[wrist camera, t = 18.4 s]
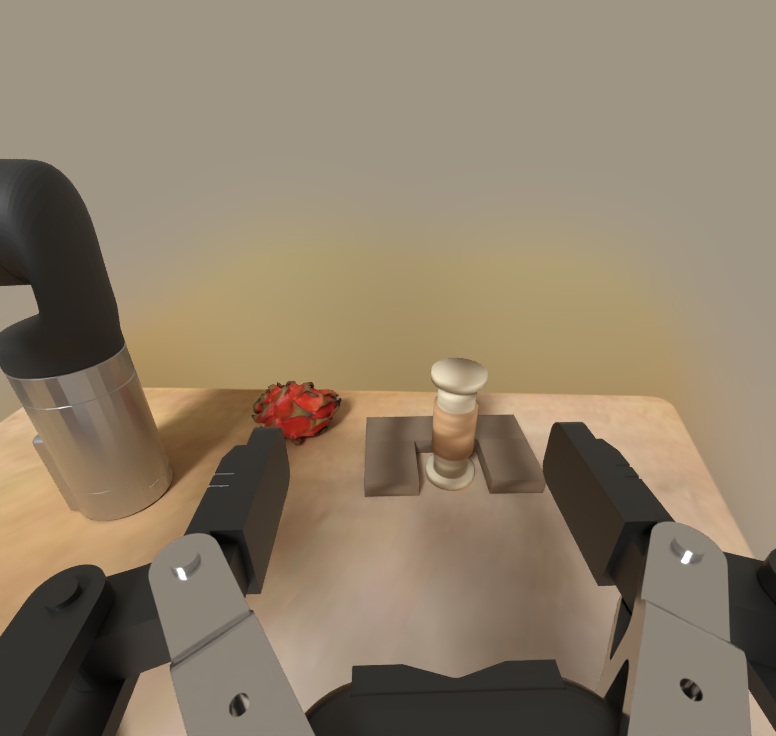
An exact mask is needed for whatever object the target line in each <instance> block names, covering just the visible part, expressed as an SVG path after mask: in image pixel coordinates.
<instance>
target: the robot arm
mask: <svg viewBox="0 0 776 736" xmlns="http://www.w3.org/2000/svg"><path fill="white" fill-rule="evenodd" d="M11 285H31V286H32V289H33V291H34V295H35V298H36V301H37V304H38V309H39V314H37V315H34V316H32V317H29V318H27V319H24V320H22V321H20V322H17V323H15V324H13V325H11V326H9V327H7V328H6V329H4V330H3V331H2V332H0V367H1V369H2V371H3V372H4V374H5V375H6V377H7V379H8V381H9V382H10V384H11V386H12V388H13V390H14V391H15V393H16V395H17V397H18V399H19V400H20V402H21V404H22V406H23V407H24V409H25V411H26V413H27V415H28V416H29V418H30V420H31V422H32V423H33V425H34V427H35V429H36V431H37V432H38V435H37V436H36V437H35V438H34V439H33V445H34V447H35V449H36V450H37V452H38V454H39V456H40V457H41V459H42V461H43V463H44V464H45V466H46V468H47V470H48V471H49V473H50V475H51V476H52V478H53V480H54V482H55V483H56V485H57V487H58V489H59V490H60V492H61V494H62V496H63V497H64V499H65V501H66V503H67V504H68V506H69V508H70V510H80V511H81V512H82V513H83V514H84V515H85V516H86V517H88V518H90V519H93V520H98V521H107V520H114V519H120V518H123V517H126V516H129V515H132V514H134V513H136V512H139V511H141V510H142V509H144V508H146V507H148V506H149V505H151V504H152V503H153V502H155V501H156V500H158V499H159V498H160V497H161V496H162V495H163V494H164V493H165V491H166V490H167V489H168V487H169V486H170V484H171V482H172V478H173V471H172V468H171V465H170V462H169V460H168V457H167V454H166V452H165V449H164V446H163V443H162V440H161V438H160V435H159V432H158V429H157V427H156V424H155V421H154V419H153V416H152V413H151V411H150V408H149V405H148V402H147V400H146V397H145V394H144V392H143V389H142V386H141V383H140V381H139V378H138V375H137V373H136V370H135V368H134V365H133V362H132V360H131V357H130V354H129V352H128V349H127V346H126V343H125V340H124V337H123V334H122V331H121V329H120V322H119V315H118V308H117V303H116V300H115V297H114V293H113V290H112V287H111V284H110V281H109V278H108V274H107V271H106V267H105V264H104V261H103V257H102V254H101V250H100V246H99V243H98V239H97V236H96V233H95V230H94V227H93V223H92V221H91V218H90V215H89V213H88V211H87V208H86V206H85V203H84V202H83V200H82V198H81V196H80V194H79V193H78V191H77V189H76V188H75V187H74V185H73V184H72V183H71V181H70V180H69V179H68V178H67V177H66V176H65V175H64V174H63V173H62V172H61V171H59V170H58V169H56V168H55V167H53V166H52V165H50V164H47V163H45V162H42V161H37V160H27V159H0V286H11ZM629 465H630V464H629V463H628V462H627V461H626V459H625V458H624V457H623V456H622V454H621V453H620V452H619V451H618V450H617V449H616V448H614V447H613V446H611V445H610V444H608V443H607V442H606V441H604V440H603V439H596V438H595V437H594V435H593V434H592V433H591V431H590V430H589V429H588V428H587V426H586V425H585V424H584V423H583V422H556V423H554V424H553V426H552V428H551V432H550V436H549V440H548V444H547V448H546V452H545V456H544V460H543V474H544V478H545V481H546V484H547V486H548V488H549V490H550V492H551V494H552V496H553V498H554V500H555V502H556V504H557V506H558V507H559V509H560V511H561V513H562V515H563V517H564V519H565V521H566V523H567V525H568V527H569V529H570V531H571V533H572V535H573V537H574V539H575V541H576V543H577V545H578V547H579V549H580V551H581V553H582V555H583V557H584V559H585V561H586V563H587V565H588V567H589V569H590V571H591V573H592V575H593V577H594V579H595V581H596V583H597V585H598V586H613V585H616V586H617V588H618V590H619V592H620V594H621V595H620V597H619V600H618V602H617V607H616V612H615V616H614V621H613V626H612V631H611V635H610V640H609V645H608V650H607V654H606V659H605V664H604V668H603V672H602V675H601V678H600V681H599V684H598V686H597V689H596V692H593V691H591V690H590V689H588V688H586V687H584V686H582V685H580V684H578V683H576V682H573V681H571V680H568V679H566V678H562V677H561V675H560V672H559V669H558V667H557V664H556V661H555V660H524V661H505V662H502V663H499V664H496V665H494V666H491V667H488V668H485V669H483V670H480V671H477V672H475V673H472V674H469V675H466V676H464V677H460V678H451V677H447V676H444V675H440V674H436V673H433V672H429V671H425V670H422V669H418V668H414V667H411V666H407V665H403V664H397V665H366V666H353V667H352V682H351V683H348V684H346V685H343V686H341V687H339V688H337V689H335V690H333V691H331V692H330V693H328V694H327V695H325V696H324V697H322V698H321V699H320V700H318V701H317V702H316V703H315V704H314V705H313V706H312V707H311V708H309V709H308V710H307V711H306V712H305V714H304V712H303V710H302V708H301V706H300V704H299V702H298V700H297V698H296V696H295V694H294V692H293V689H292V687H291V685H290V683H289V681H288V679H287V677H286V675H285V673H284V671H283V669H282V667H281V665H280V663H279V661H278V659H277V657H276V655H275V653H274V651H273V649H272V647H271V645H270V643H269V641H268V638H267V636H266V634H265V632H264V630H263V628H262V626H261V624H260V622H259V620H258V618H257V616H256V615H255V613H254V611H253V610H250V608H249V606H248V604H247V602H246V600H245V598H246V595H247V594H261V590H262V587H263V583H264V579H265V575H266V571H267V567H268V564H269V560H270V556H271V552H272V548H273V544H274V540H275V537H276V533H277V529H278V525H279V521H280V517H281V514H282V510H283V506H284V502H285V498H286V494H287V491H288V486H289V478H290V469H289V462H288V456H287V450H286V444H285V438H284V433H283V429H282V428H281V427H258V428H254V430H253V432H252V434H251V436H250V438H249V441H248V443H247V445H238V446H235V447H234V448H233V449H232V450H231V451H230V452H228V453H227V454H226V455H225V456H224V457H223V458H222V460H221V462H220V464H219V466H218V468H217V470H216V472H215V475H214V476H213V478H212V480H211V482H210V484H209V488H207V490H206V492H205V494H204V496H203V498H202V500H201V502H200V504H199V506H198V508H197V510H196V512H195V514H194V516H193V518H192V520H191V522H190V524H189V526H188V528H187V530H186V532H185V534H184V536H183V537H180V538H178V539H176V540H174V541H173V542H171V543H170V544H168V545H167V546H165V547H164V548H163V549H162V550H161V551H160V552H159V553H158V554H157V556H156V557H155V558H154V560H153V562H152V563H149V564H147V565H144V566H141V567H138V568H134V569H131V570H128V571H125V572H121V573H118V574H115V575H111V576H108V577H106V576H105V574H104V572H103V571H102V569H100V568H99V567H97V566H95V565H78V566H74V567H71V568H68V569H66V570H63V571H61V572H59V573H57V574H56V575H54V576H52V577H51V578H49V579H48V580H46V581H45V582H44V583H42V584H41V585H40V586H39V587H38V588H37V589H36V590H35V591H34V592H33V593H32V594H31V595H30V596H29V597H28V599H27V600H26V601H25V603H24V604H23V606H22V607H21V608H20V610H19V611H18V613H17V614H16V615H15V617H14V618H13V620H12V621H11V622H10V624H9V625H8V627H7V628H6V629H5V631H4V632H3V634H2V635H1V636H0V736H115V735H116V733H117V730H118V728H119V725H120V723H121V720H122V718H123V715H124V713H125V710H126V708H127V705H128V703H129V700H130V698H131V695H132V693H133V690H134V688H135V685H136V683H137V680H138V678H139V675H140V673H142V672H144V671H147V670H150V669H152V668H155V667H158V666H160V665H163V664H166V663H168V662H171V661H172V664H170V672H171V677H172V681H173V685H174V689H175V692H176V696H177V700H178V703H179V707H180V711H181V714H182V718H183V722H184V725H185V729H186V733H187V736H751V723H750V707H749V691H748V689H749V690H750V692H751V694H752V695H753V697H754V698H755V700H756V701H757V703H758V705H759V706H760V708H761V709H762V711H763V712H764V714H765V716H766V717H767V719H768V720H769V722H770V723H771V725H772V727H773V728H774V730H775V731H776V549H774V550H773V551H771V553H770V554H769V556H768V557H767V558H766V560H765V561H760V560H756V559H752V558H748V557H743V556H739V555H735V554H731V553H727V552H723V551H722V550H721V549H720V548H719V547H718V545H717V544H716V543H715V542H714V541H712V540H711V539H710V538H709V537H708V536H706V535H705V534H703V533H702V532H700V531H698V530H696V529H694V528H692V527H690V526H687V525H685V524H681V523H677V522H675V521H674V520H673V518H672V517H671V516H670V515H669V513H668V512H667V511H666V510H665V508H664V507H663V506H662V504H661V503H660V502H659V501H658V499H657V498H656V497H655V496H654V494H653V493H652V492H651V491H650V489H649V488H648V487H647V486H646V484H645V483H644V482H643V481H642V479H639V476H638V474H637V473H636V472H635V471H634V469H633V468H632V467H630V466H629Z"/></svg>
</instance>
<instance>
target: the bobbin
mask: <svg viewBox="0 0 776 736" xmlns="http://www.w3.org/2000/svg"><path fill="white" fill-rule="evenodd" d="M431 380H432V382H433V384H434V385H435V386H436V387H438V396H437V397H436V398H435V400H434V411H433V427H432V443H431V447H432V450H433V452H434V454H433V455H431V456H430V457H429V458H428V460H427V463H426V475H427V478H428V479H429V481H430V482H431V483H432V484H434V485H435V486H437V487H439V488H441V489H444V490H450V491H456V490H461V489H464V488H466V487H467V486H469V485H470V484H471V482H472V480H473V476H474V465H473V463H472V462H471V460H470V459H469V456H470V455H471V454H472V452H473V445H474V438H475V430H476V422H477V415H478V407H479V404H478V402H477V400H476V396H477V392H478V391H480V390H482V389H483V388H484V387H485V385H486V381H487V370H486V369H485V367H484V366H482V365H481V364H479V363H477V362H475V361H472V360H468V359H463V358H448V359H444V360H440V361H438V362H436V363H435V364H434V365H433V367H432V373H431Z"/></svg>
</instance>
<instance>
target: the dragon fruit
mask: <svg viewBox="0 0 776 736" xmlns="http://www.w3.org/2000/svg"><path fill="white" fill-rule="evenodd" d="M310 386H311V387H310ZM268 388H269V389H267V392H266V393H264V394H262V395H261V397H260V398H259V399H258V401H257V402H256V403H255V404H253V405H254V407H253V410H254V412H255V413H256V415H252V418H253V420H254V421H255V422H256V423H265V427H281V428H282V429H283V433H284V438H288V439H290V440H291V441H292V442H294V443H295V445H298V444H300V441H301V439H299V437H302V436H315V435H316V436H318V435H320V434H321V433H323V432H324V431H325V430H326V429H327V428H328V426H325V425H326V424H328V423H329V422H330V420H331V419H332V417H333V415H334V414H335V413H336V411H337V410H338V409H339V406H340V402H341V398H340V399H339V400H336V397H337V396H339V395H338V394H336V393H335V392H334V391H333V390H331V391H330V390H316V389H314V385H313V383H312V382H308V383H303V384H302V385H297V384H296V382H295V381H288V382H287V384H286V385H283V386H282V385H281V384H280V383H277V385H270V386H269V387H268ZM336 403H337V404H336Z"/></svg>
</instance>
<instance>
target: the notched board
mask: <svg viewBox="0 0 776 736" xmlns="http://www.w3.org/2000/svg"><path fill="white" fill-rule="evenodd" d="M432 427H433V416H416V417H367V423H366V451H365V478H364V488H365V497H369V496H411V495H419V476H418V468H417V460H416V453H430V452H433V450H432V447H431V443H432ZM473 452H477V455H478V458H479V461H480V464H481V467H482V471H483V474H484V477H485V480H486V483H487V486H488V489H489V492H490V494H496V493H539V492H543V491H544V488H545V484H546V481H545V478H544V474H543V471H542V469H541V467H540V465H539V463H538V461H537V459H536V458H535V456H534V454H533V452H532V450H531V448H530V446H529V444H528V442H527V440H526V438H525V436H524V434H523V432H522V430H521V428H520V426H519V424H518V422H517V421H516V419H515V417H514V415H477V422H476V430H475V438H474V445H473Z"/></svg>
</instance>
